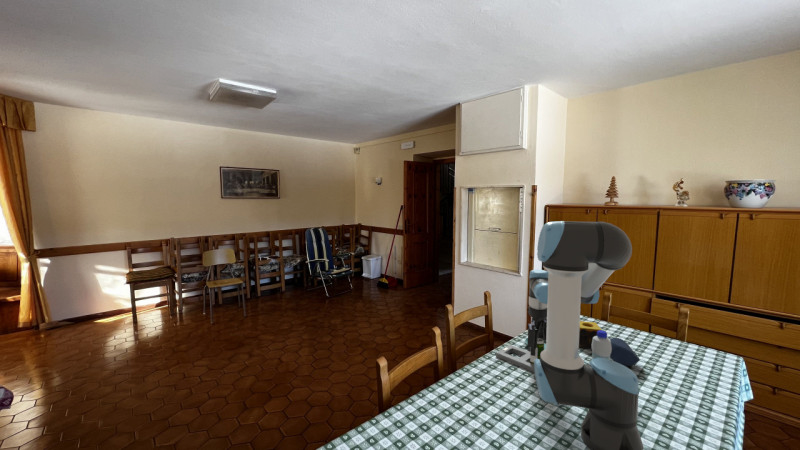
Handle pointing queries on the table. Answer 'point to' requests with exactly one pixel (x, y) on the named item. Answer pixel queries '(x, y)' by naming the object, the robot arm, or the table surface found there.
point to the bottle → (601, 346)
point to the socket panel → (520, 361)
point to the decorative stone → (622, 353)
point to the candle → (587, 333)
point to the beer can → (539, 347)
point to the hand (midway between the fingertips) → (537, 359)
